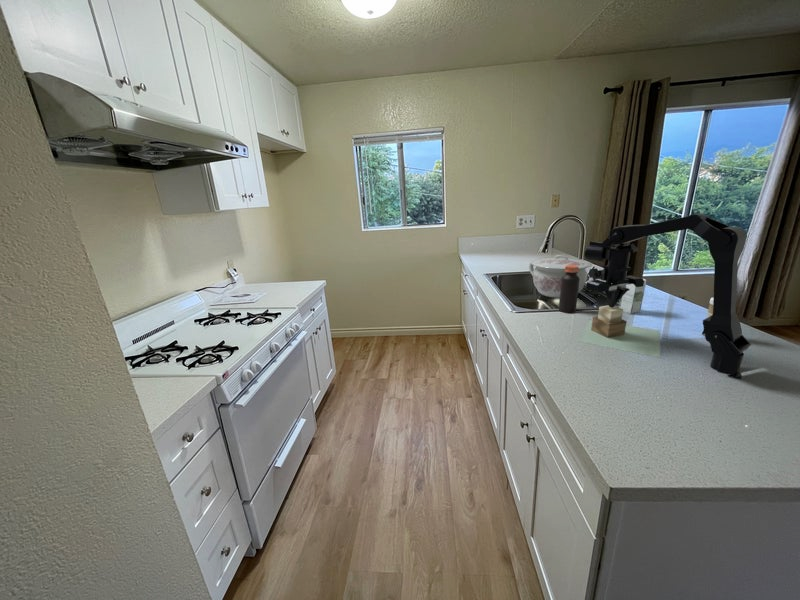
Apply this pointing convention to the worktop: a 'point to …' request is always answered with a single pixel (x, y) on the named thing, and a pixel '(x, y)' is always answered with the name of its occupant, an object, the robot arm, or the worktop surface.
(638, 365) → the worktop surface
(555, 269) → the chamber pot
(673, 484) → the worktop surface
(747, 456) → the worktop surface
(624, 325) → the walnut socket block
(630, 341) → the board
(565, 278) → the vinegar
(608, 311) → the ash block
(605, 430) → the worktop surface
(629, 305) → the syrup box
